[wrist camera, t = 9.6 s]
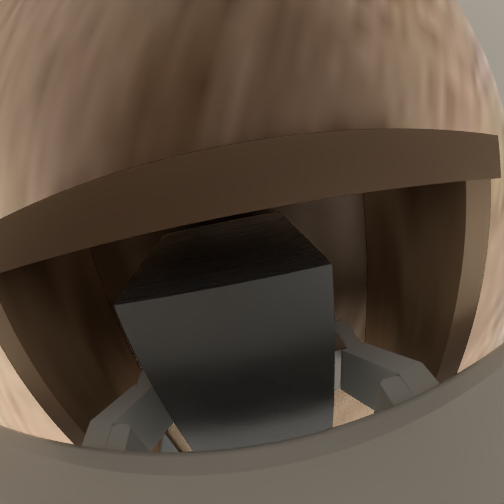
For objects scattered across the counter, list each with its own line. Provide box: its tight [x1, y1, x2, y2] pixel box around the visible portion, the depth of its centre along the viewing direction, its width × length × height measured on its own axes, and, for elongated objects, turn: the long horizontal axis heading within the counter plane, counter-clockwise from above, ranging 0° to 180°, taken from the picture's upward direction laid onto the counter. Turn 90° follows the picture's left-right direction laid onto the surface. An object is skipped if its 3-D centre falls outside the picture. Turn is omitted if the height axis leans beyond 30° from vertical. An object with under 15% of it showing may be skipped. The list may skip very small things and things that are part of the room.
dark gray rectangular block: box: [114, 211, 335, 452], centre depth 9 cm, size 9×4×5 cm, turn 10°
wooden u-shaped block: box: [0, 129, 501, 452], centre depth 9 cm, size 13×16×6 cm
